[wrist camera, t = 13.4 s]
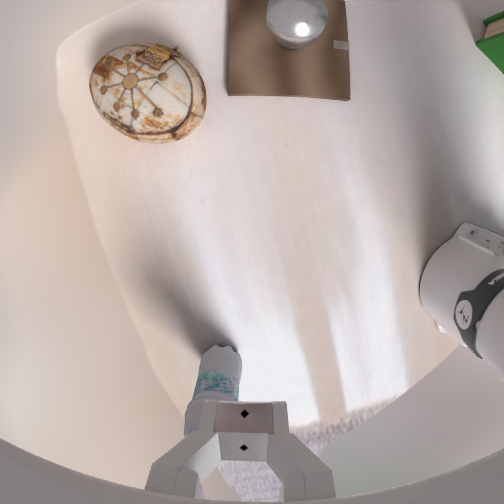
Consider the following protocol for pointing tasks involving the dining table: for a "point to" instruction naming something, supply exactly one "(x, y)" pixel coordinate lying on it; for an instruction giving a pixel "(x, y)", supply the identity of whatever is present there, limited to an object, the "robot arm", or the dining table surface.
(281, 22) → the lever handle
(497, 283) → the robot arm
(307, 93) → the base
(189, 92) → the trinket box
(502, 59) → the hardback book
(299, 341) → the dining table surface
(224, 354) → the bottle
